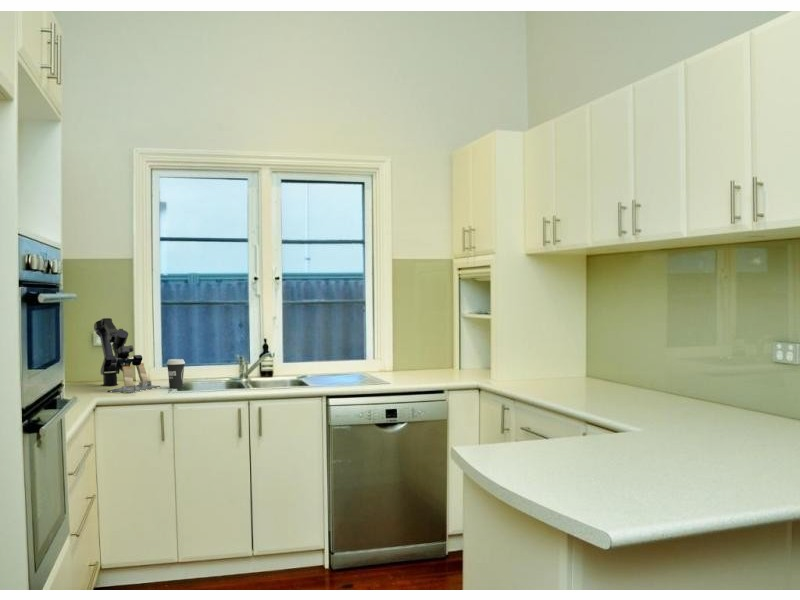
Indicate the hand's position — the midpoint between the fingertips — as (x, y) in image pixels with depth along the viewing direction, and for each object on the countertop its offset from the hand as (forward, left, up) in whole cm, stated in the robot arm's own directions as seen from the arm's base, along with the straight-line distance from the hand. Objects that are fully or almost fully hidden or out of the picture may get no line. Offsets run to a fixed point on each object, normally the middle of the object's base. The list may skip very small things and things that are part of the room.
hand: (126, 373), depth 344 cm
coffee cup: (+16, +19, -9) cm, 26 cm away
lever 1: (+4, -2, -7) cm, 8 cm away
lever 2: (0, +14, -7) cm, 15 cm away
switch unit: (0, +6, -9) cm, 11 cm away
